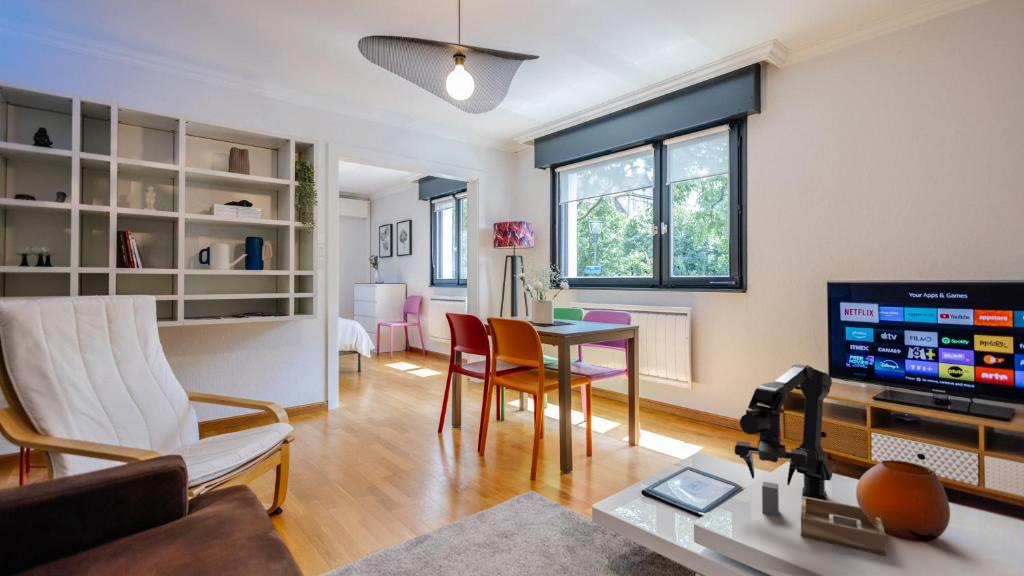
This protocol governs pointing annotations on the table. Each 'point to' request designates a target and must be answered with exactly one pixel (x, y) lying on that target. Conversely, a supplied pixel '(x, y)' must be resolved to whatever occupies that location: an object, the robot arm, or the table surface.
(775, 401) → the robot arm
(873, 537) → the walled box
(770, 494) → the grey rectangular block
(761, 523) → the table surface
